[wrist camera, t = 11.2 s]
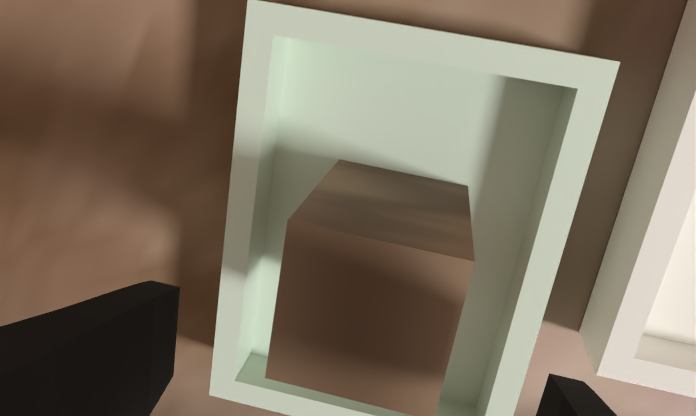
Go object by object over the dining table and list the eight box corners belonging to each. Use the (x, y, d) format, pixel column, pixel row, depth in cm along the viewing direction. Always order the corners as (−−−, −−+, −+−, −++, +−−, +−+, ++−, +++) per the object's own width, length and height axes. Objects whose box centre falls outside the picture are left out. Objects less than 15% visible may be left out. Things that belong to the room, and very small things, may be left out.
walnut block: (468, 186, 18) (474, 261, 12) (439, 302, 19) (433, 420, 13) (339, 159, 18) (287, 219, 12) (319, 274, 19) (264, 377, 14)
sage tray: (596, 56, 17) (620, 61, 14) (492, 417, 21) (497, 467, 18) (274, 2, 18) (247, -2, 15) (235, 355, 22) (209, 395, 19)
